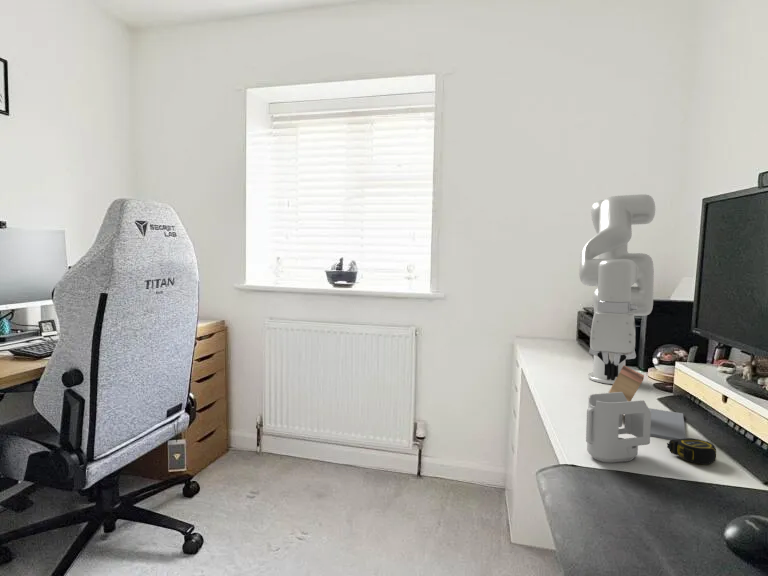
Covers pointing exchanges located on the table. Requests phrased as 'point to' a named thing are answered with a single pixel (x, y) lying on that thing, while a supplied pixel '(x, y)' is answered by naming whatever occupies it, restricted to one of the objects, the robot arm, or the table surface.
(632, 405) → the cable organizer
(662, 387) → the table surface
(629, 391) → the oak block
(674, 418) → the rubber mat
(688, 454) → the tape measure
